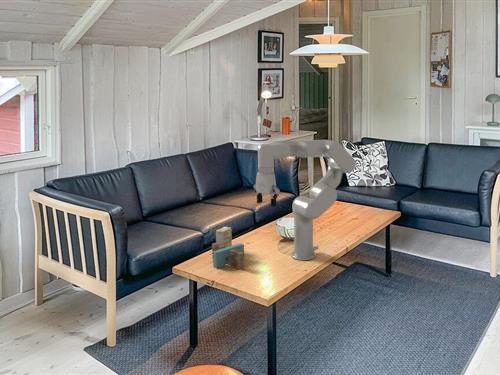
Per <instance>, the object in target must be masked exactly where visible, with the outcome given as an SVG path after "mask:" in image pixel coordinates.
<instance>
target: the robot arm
mask: <svg viewBox="0 0 500 375" xmlns="http://www.w3.org/2000/svg"><path fill="white" fill-rule="evenodd" d="M290 156H291V157H296V158H306V159H307V158H328V161H327V170H326V173H325V175H324V176H323V177H321V178H320V179H319V180H318V181H317V182H316V183H315V184H314V185H312V186H311V188H309V193H308V194H309V197H307V196H305V195H299V196H297V197H296V198H294V200H293V202H292V206H291V207H292V214H293V226H294V227H293V230H294V231H293V234H294V236H293V243H294V244H293V249H294V250H293V251H292V252H291V255H290V256H291V258H292V259H294V260H297V261H310V260H313V259H315V258H316V256H317V254H316V253H315V251H316V250H319V246H318V245H314V221H313V220H316V219H318V218H320V217H321V216H323V215H324V213H325V212H326V211H328V210H329V209H330V208H331V207H332V206H333V205H334V204H335V202H336V201H337V199H338V191H337V190H336V189H337V188H338V187H339V185H340V184H341V181H342V173H343V174H348V173H349V174H350V173H352V172H353V171H354V170H355V168H356V161H355V160H356V159H354V157H353V156H352V155H351V154H350V153H349V151H348V150H347V149H346V148H345V147H344V146H343V145H342V144H341V143H339V142H338V141H336V140H331V139H309V140H307V139H305V140H274V141H271V142H269V143H259V144H258V146H257V172H256V177H255V184H254V185H252V186H253V189H254V192H255V195H256V204H261V203H263V195H267V196H270V207H271V208H272V207H277V198H278V197H279V196H280V195H279V194H280V192H281V190H280V189H279V188H278V187H277V184H276V183H277V182H276V175H275V169H274V168H275V163H274V162H275V161H274V160H275V159H276V160H277V159H278V160H284V159H287V158H288V157H290Z"/></svg>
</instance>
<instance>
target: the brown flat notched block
mask: <svg viewBox="0 0 500 375" xmlns="http://www.w3.org/2000/svg"><path fill="white" fill-rule="evenodd" d="M223 248H225V246H224V245H221V244H218V243H216V242H214V243H212V244H211V250H212V251H211V254H212V255H211V256H212V259H213V251H217V250H220V249H223ZM225 260H226V266H227V265H228V266H230V267H232V268H235V269H237V270H240V271H241V270H244V269H245V252H244V253H242V252H240V251H237V250H234V249H233V250H230V256H229V257H226V258H225Z"/></svg>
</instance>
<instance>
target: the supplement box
mask: <svg viewBox="0 0 500 375" xmlns="http://www.w3.org/2000/svg"><path fill="white" fill-rule="evenodd" d="M232 234H233V233H232V227H229V226H223V227H222V228H219V229H216V230H215V241H216V242H215V243H218V244H221V245H224V246H225V248H226V247H230V246H233V244H232V241H233V240H232V238H233V236H232Z"/></svg>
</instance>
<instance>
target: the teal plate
mask: <svg viewBox="0 0 500 375" xmlns="http://www.w3.org/2000/svg"><path fill="white" fill-rule="evenodd" d="M233 249H234V250H237V251H240V252H242V253H244V254H245V244H244V243H242V242H239V243H237V244H232V246H230V247H226V248H223V249H220V250H217V251H213V258H212V263H213V264H212V266H213V268H215V269H219V268H222V267H225V266H227V264H226V260H225V258H226V257H229V256H230V250H233Z"/></svg>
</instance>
